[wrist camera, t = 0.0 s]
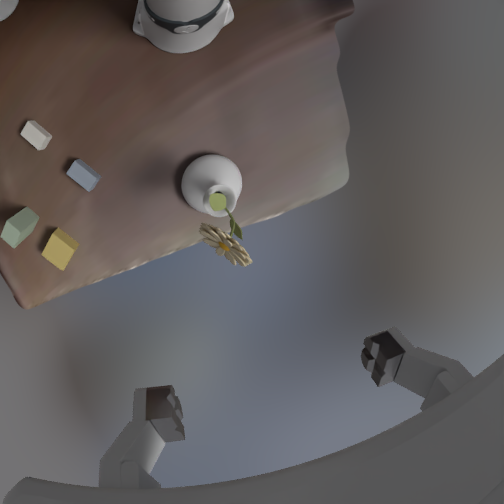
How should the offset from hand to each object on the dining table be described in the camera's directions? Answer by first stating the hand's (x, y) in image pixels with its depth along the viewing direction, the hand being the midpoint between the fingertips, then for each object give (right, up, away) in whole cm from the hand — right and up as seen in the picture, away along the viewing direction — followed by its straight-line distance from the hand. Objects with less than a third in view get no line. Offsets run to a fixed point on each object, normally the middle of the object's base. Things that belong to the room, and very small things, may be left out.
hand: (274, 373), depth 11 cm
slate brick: (-33, +20, +37) cm, 53 cm away
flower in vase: (-8, +17, +44) cm, 48 cm away
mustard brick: (-41, +6, +42) cm, 59 cm away
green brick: (-48, +12, +37) cm, 61 cm away
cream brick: (-42, +28, +31) cm, 59 cm away
